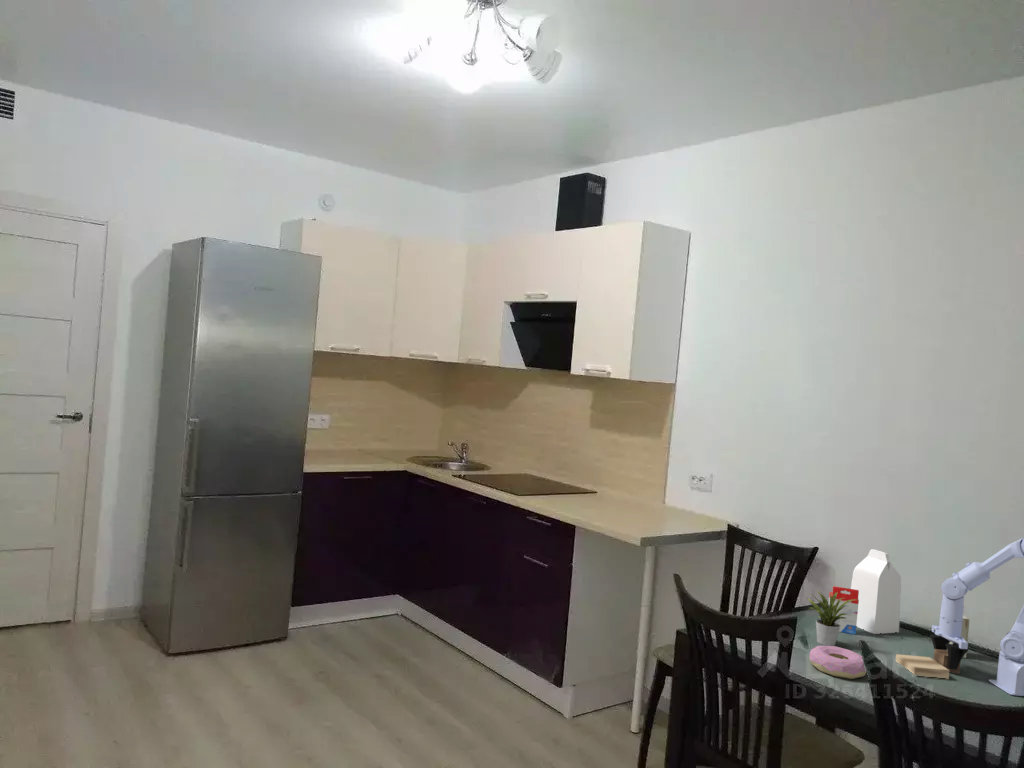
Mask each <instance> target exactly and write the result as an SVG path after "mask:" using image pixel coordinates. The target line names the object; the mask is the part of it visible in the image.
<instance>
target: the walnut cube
mask: <svg viewBox="0 0 1024 768" xmlns="http://www.w3.org/2000/svg"><path fill="white" fill-rule="evenodd" d="M932 659H933V660H935V661H936V662H938V663H939V664H941V665H942V666H944V667H945V668H947V669H948V670H950V672H952V673H951V674H958V673H959V674H960V671H961V662H962V660H961V661H960V664H959V666H958V668H957V670H955V669H949V666H948V651H947V650H939V649H934V648H933V657H932Z"/></svg>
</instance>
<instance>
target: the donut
mask: <svg viewBox="0 0 1024 768" xmlns="http://www.w3.org/2000/svg"><path fill="white" fill-rule="evenodd" d="M808 656H809V662H810V663H811V664H812V666H813V667H815V668H816V669H817V670H818V671H820V673H824V674H827V675H829V676H833V677H836V678H837V677H838V678H843V679H847V680H848V679H849V680H854V679H858V678H859V679H860V678H863V677H864V676H865V675H866V673H867V672H866V671H865V668H864V663H863V659H862V657H863V656H862V655H861V654H858V653H857V652H855V651H853V650H850V649H847V648H844V647H843V648H842V647H839V646H835V645H834V646H826V645H817V646H815V647H813V648H812V649H810V652H809V655H808Z"/></svg>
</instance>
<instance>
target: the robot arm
mask: <svg viewBox="0 0 1024 768" xmlns="http://www.w3.org/2000/svg"><path fill="white" fill-rule="evenodd" d="M1014 558H1016V559H1017V558H1018V559H1019V558H1020V559H1021V558H1022V559H1023V558H1024V537H1021V538H1020V539H1018V540H1015V541H1014V542H1011V543H1008V544H1007V545H1006V546H1005V547H1003V548H1002V549H1000V550H999V551H998V552H996V553H995V554H993V555H992V556H990V557H989V558H987V559H986V560H984V561H983V562H977V561H973V562H971V561H970V562H968V563H966V564H965V567H963V569H961V570H959V571H958V572H953V573H952V574H951V575H952V576H951V577H949V578H947V579H945V580H944V581H943V582H942V584H941V587H940V588H941V589H940V591H941V592H942V597H941V598H942V600H941V603H940V615H939V622H938V625H937V624H936V625H935V624H932V625H931V632H932V633H934V634H931V633H930V634H929V638H930V640H931V642H932V645H933V650H934V649H939V650H947V651H948V666H949V669H955V670H957V668H958V666H959V664H960V665H961V663H960V661H961V662H962V659H964V658H963V656H964V655H965V654H966V652H967V653H968V651H969V642H966V641H965V640H964V639H963V637H962V636H961V630H962V620H963V615H964V610H965V609H964V607H965V605H964V602H965V595H966V594H967V593H968V591H969V592H971V591H973V590H975V589H976V588H977V587H979V586H981V585H982V584H983V583H985V582H987V581H988V580H990V578H991V573H992V572H993V571H994V570H996V569H998V568H999V567H1001V566H1002V565H1004V564H1006V563H1007V562H1010V561H1011V560H1012V559H1014ZM950 641H951V642H952V643H953V644H949V643H950ZM999 645H1000V646H999V648H1000V650H999V654H998V655H999V656H998V663H997V664H998V665H997V672H996V673H997V674H996V679H988V681H989V683H991V684H993V685H995V686H996V687H998V688H999V689H1001V690H1002V691H1003V692H1005V693H1007V694H1008V695H1011V696H1019V697H1024V605H1023V606H1022V607H1021V610H1020V612H1019V614H1018V616H1017V618H1016V620H1015V623H1014V624H1013V625H1012V627H1011V629H1010V630H1009V631H1008V632H1007V633H1006V635H1005V636H1004V637H1003V638H1002V639H1001V640H1000V643H999ZM966 655H967V654H966Z"/></svg>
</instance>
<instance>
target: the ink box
mask: <svg viewBox="0 0 1024 768" xmlns="http://www.w3.org/2000/svg"><path fill="white" fill-rule="evenodd" d="M845 591H846V592H848V593H846V592H845ZM836 592H837V597H836V599H835V602H834V605H836V603H837V602H838V600H839V599H841V598H842V599H841V601H840V603H839V605H838V607H837V609H838V608H839V606H840V605H842V604H843V603H844V602H846V601H848V600H853V601H850V602H848V603H846V604H845V605H846V606H845V605H844V606H845V607H844V608H842V609H841V610H840V611H839V612H838V613H837V615H839V614H841V613H845V614H847V615H842V616H840V617H845V618H847V619H838V620H836V621H835V622H836V623H838V624H839V625H840V629H839V632H838V633H844V634H851V635H856V634H857V627H856V624H857V614H858V603H859V600H858V595H859V590H855V589H851V588H847V587H843V586H842V587H841V586H835V585H834V586H832V591H829V592H828V593H829V595H828V596H829V597H828V605H829V606H830V593H831V595H832V597H833V595H834V594H835V593H836ZM847 604H848V605H847ZM833 613H834V612H833ZM837 615H836V616H837ZM832 616H833V615H832Z"/></svg>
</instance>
